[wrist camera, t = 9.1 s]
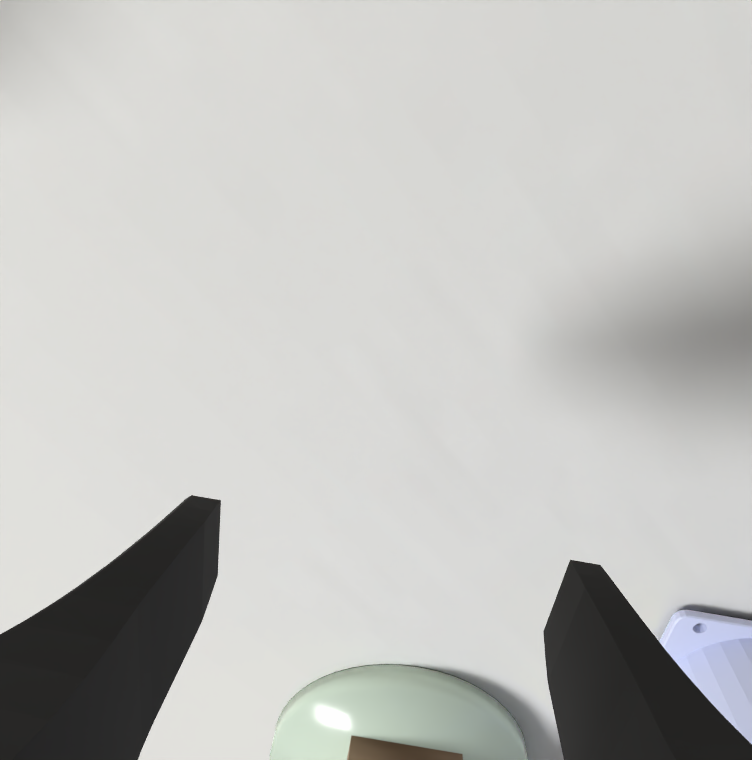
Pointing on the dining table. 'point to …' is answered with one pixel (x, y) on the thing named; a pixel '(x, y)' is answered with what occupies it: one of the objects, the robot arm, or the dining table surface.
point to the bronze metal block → (394, 751)
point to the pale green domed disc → (395, 716)
